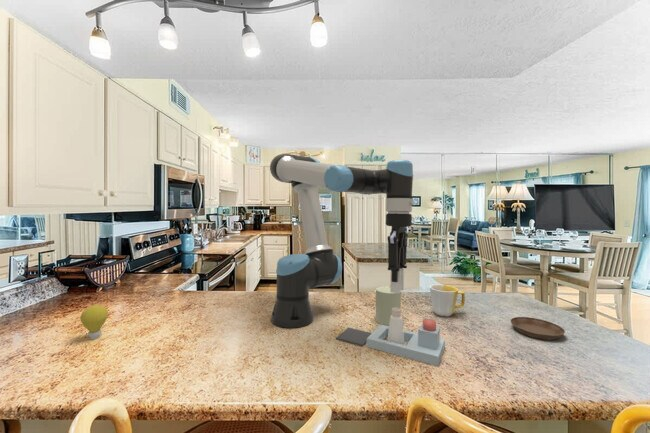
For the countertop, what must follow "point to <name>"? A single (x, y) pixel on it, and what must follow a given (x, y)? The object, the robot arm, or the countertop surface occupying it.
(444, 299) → the mug
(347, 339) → the mat
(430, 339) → the frame
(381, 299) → the can
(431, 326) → the plunger
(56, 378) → the countertop surface
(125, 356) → the countertop surface
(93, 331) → the light bulb
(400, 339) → the pepper shaker
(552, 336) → the saucer
